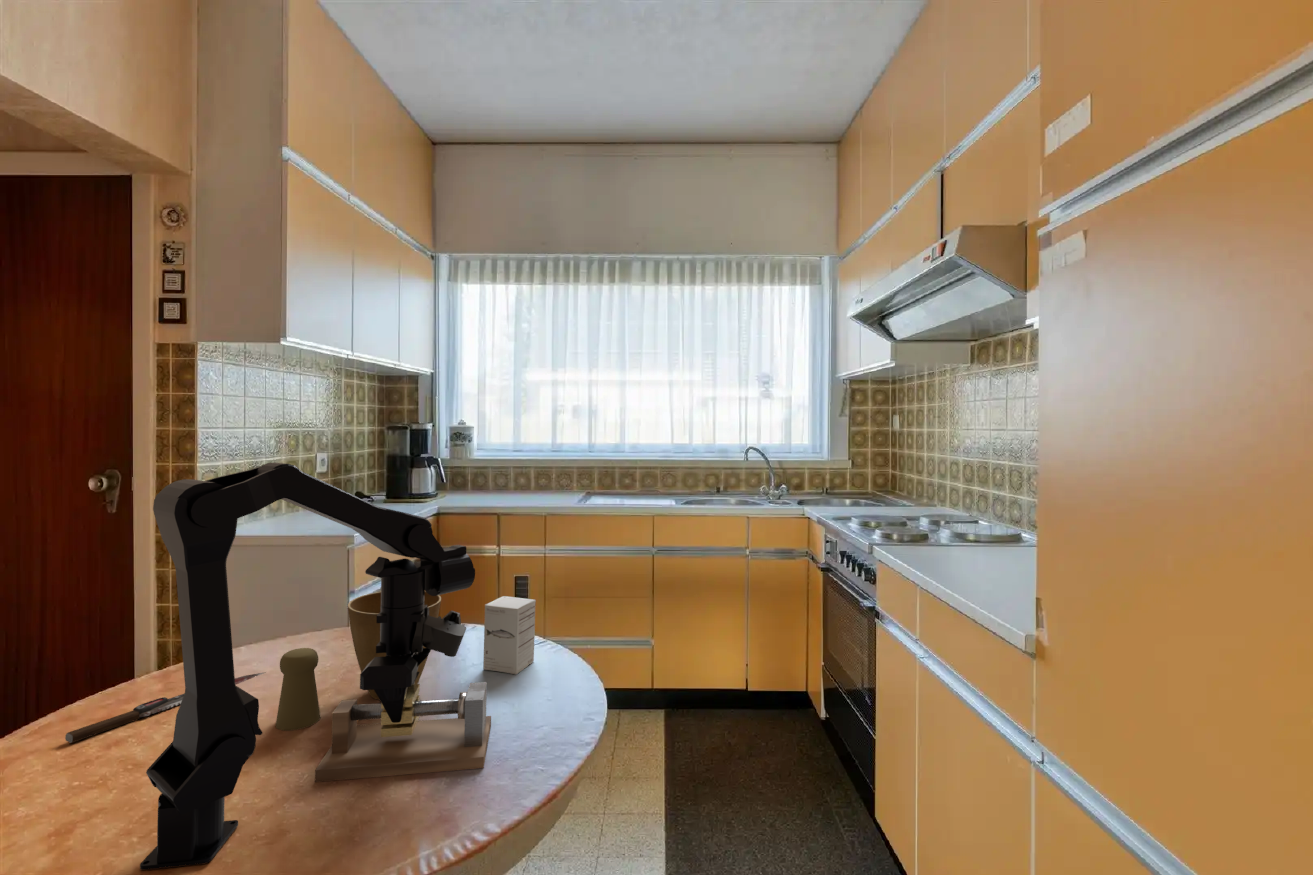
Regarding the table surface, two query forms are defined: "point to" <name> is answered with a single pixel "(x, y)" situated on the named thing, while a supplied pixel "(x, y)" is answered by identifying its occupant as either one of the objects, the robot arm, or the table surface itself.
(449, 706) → the bolt
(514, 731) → the table surface
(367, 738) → the jig
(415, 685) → the nut
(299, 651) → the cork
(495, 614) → the supplement box
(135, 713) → the knife
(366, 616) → the plant pot
